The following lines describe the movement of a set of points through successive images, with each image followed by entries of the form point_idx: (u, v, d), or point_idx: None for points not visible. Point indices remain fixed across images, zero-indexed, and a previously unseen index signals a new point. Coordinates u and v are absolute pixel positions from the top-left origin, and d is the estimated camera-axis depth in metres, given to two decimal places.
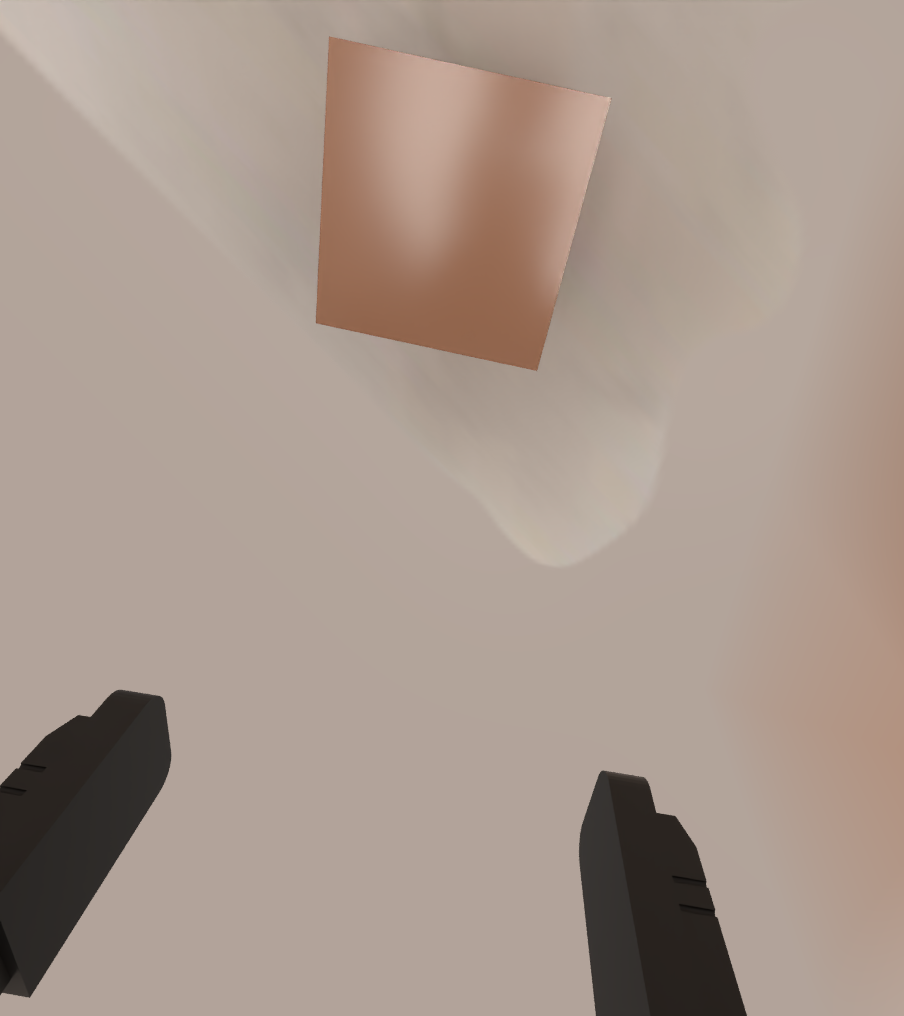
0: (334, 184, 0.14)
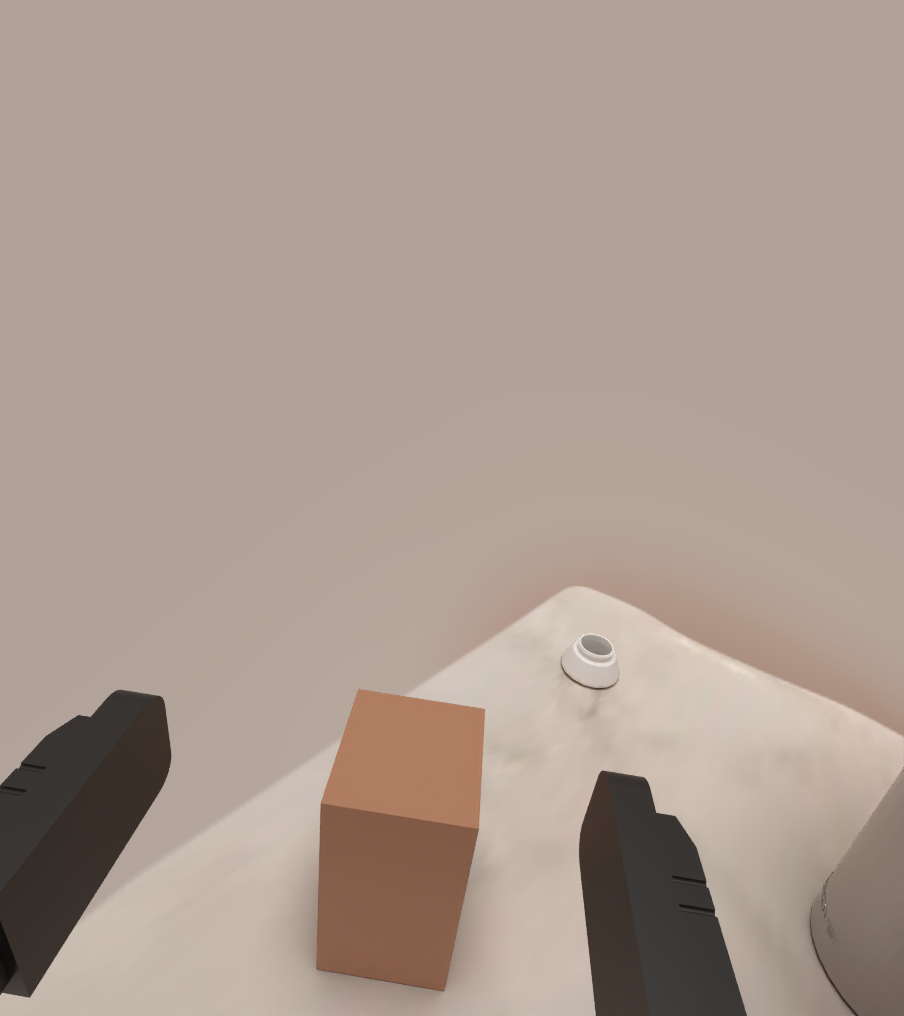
0: (427, 704, 0.29)
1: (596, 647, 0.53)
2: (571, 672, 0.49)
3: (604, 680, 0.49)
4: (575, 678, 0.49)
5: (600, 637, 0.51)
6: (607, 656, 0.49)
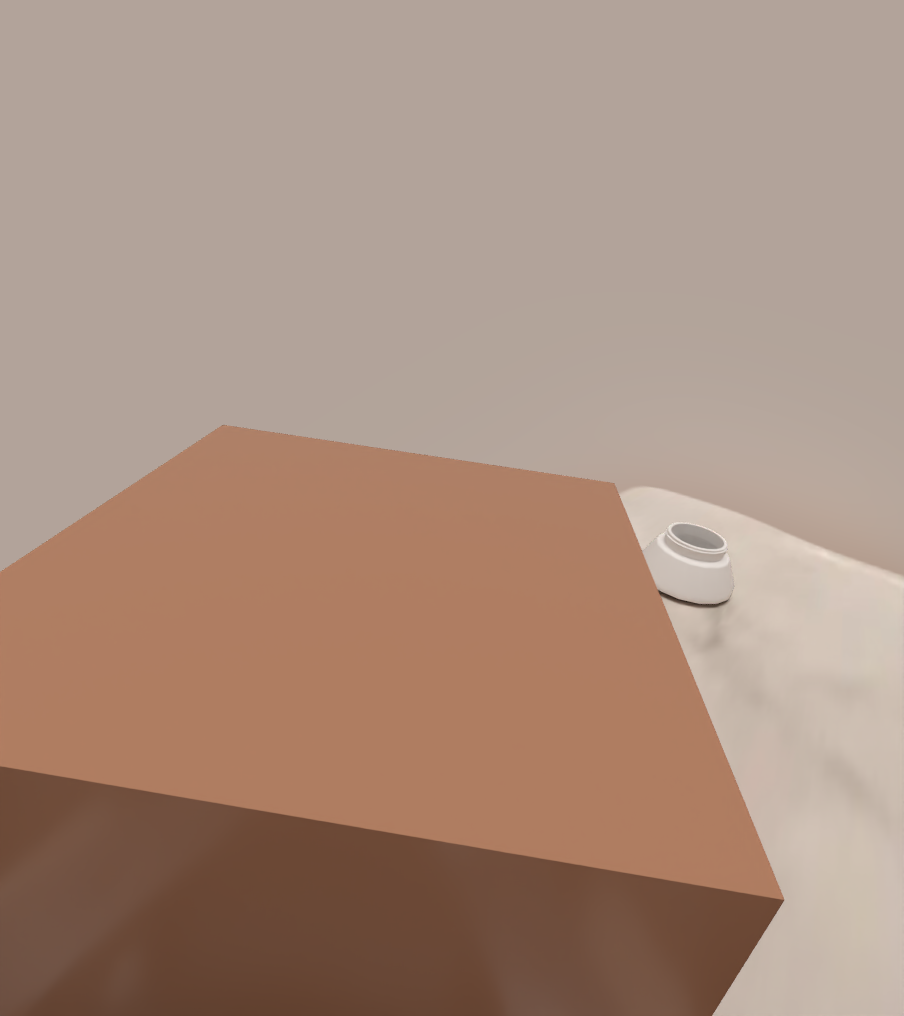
0: (435, 463, 0.09)
1: None
2: (657, 580, 0.30)
3: (713, 591, 0.29)
4: (664, 588, 0.30)
5: (701, 527, 0.31)
6: (719, 551, 0.29)
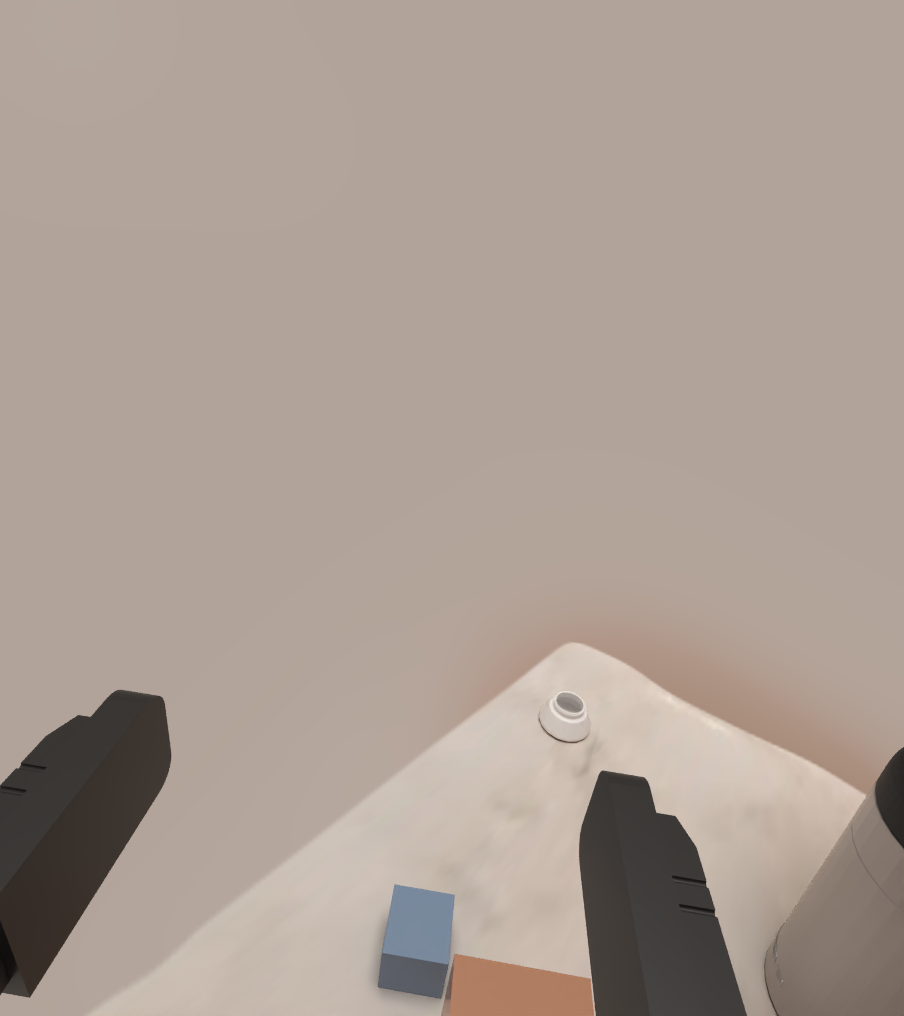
0: (529, 975, 0.27)
1: (572, 702, 0.59)
2: (547, 726, 0.56)
3: (575, 735, 0.55)
4: (549, 732, 0.56)
5: (574, 695, 0.57)
6: (578, 714, 0.55)
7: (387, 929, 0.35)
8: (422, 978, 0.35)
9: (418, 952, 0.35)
